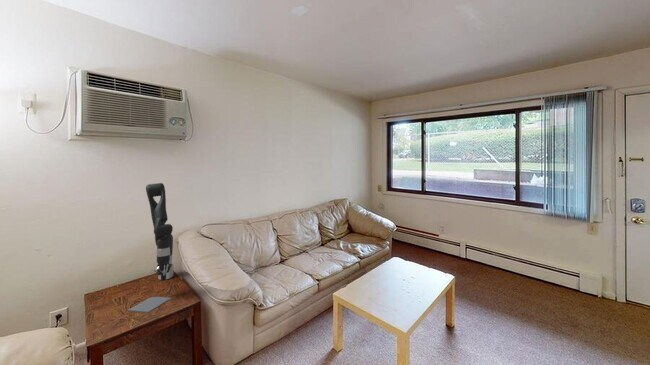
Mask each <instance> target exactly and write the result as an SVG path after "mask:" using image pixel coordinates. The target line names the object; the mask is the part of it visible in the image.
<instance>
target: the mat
mask: <svg viewBox="0 0 650 365" xmlns="http://www.w3.org/2000/svg"><path fill="white" fill-rule="evenodd" d="M171 299H172V297H167V296H166V297H165V296H152V297H151V296H150V297H148V298H146V299H145V300H144V301H141V302H140V303H138V304H136V305H134V306H132V307H131V308H129V309H127V312H134V313H135V312H136V313H145V314H147V313H150V312H152V311H154V310H155V309H156V308H158V307H160V306H162V305H163V304H165V303H167V302H168V301H170V300H171Z"/></svg>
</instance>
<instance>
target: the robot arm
mask: <svg viewBox="0 0 650 365" xmlns="http://www.w3.org/2000/svg"><path fill="white" fill-rule="evenodd" d="M145 192H146V196H147V200H148V204H149V207H150V208H149V209H150V215H151V220H152V225H153V235H154V241H155V246H156V263H157V267H156V268H155V269H154V270H153V271H154V272H155V273H156V275H157V276H158V278H157V279H158V280H159V281H161V282H164V281H166V280H168V279H169V280H170V279H171V278H172V277H174V263H173V248H174V236H173V234H172V233H173V230H174V229H173V228H174V227H173V226H172V224H171V223H167V222H168V219H169V218H168V213H167V204H166V203H167V198H166V196H167V195H166V188H165V184H164V183H162V182H158V183H150V184H146V185H145ZM155 197H160V199H159V201H158V202H157V201H156V200H155Z"/></svg>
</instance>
